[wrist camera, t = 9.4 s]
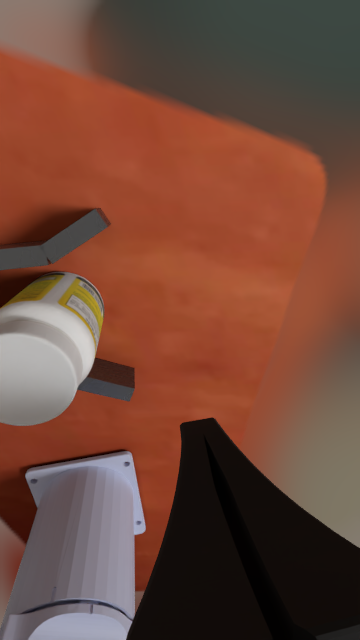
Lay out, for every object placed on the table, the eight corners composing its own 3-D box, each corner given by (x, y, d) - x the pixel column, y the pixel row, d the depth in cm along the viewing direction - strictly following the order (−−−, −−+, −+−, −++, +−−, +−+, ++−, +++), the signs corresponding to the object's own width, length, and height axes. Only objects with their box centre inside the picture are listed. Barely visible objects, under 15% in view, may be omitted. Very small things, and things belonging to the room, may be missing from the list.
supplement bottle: (18, 330, 18) (-64, 422, 11) (33, 259, 17) (-50, 305, 9) (95, 349, 20) (71, 443, 12) (114, 284, 18) (101, 342, 10)
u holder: (136, 378, 21) (136, 400, 19) (3, 398, 20) (-14, 424, 18) (108, 207, 17) (104, 207, 14) (-64, 222, 16) (-97, 225, 13)
